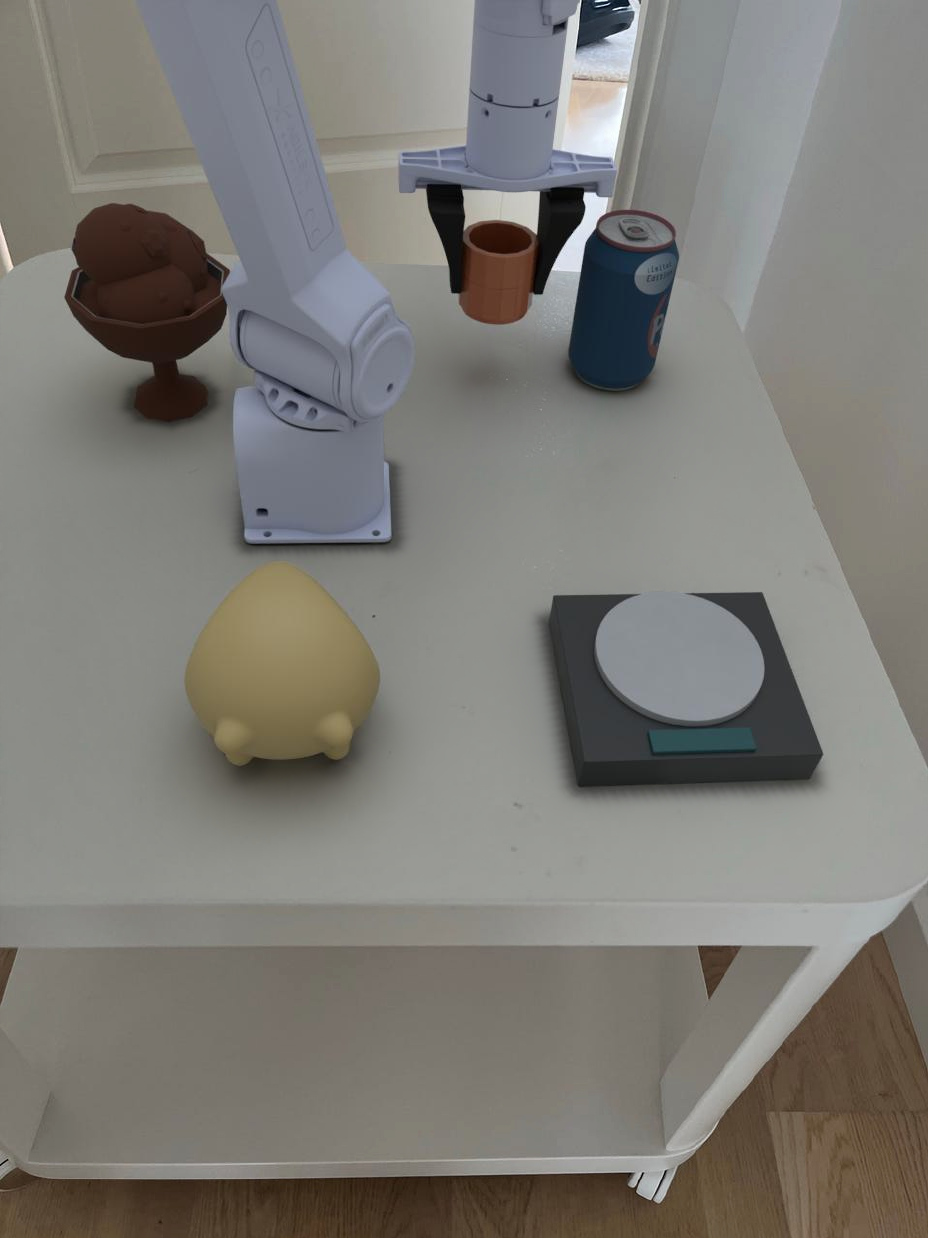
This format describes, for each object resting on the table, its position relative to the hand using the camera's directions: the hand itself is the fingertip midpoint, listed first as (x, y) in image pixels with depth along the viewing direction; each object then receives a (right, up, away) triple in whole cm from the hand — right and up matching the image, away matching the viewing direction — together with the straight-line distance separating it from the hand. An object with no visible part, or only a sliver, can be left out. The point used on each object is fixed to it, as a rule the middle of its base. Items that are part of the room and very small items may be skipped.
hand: (496, 287), depth 74 cm
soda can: (+9, -4, +7) cm, 13 cm away
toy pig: (-12, -30, -17) cm, 37 cm away
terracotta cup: (0, -1, +1) cm, 2 cm away
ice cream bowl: (-24, -8, +2) cm, 26 cm away
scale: (+10, -29, -15) cm, 34 cm away
